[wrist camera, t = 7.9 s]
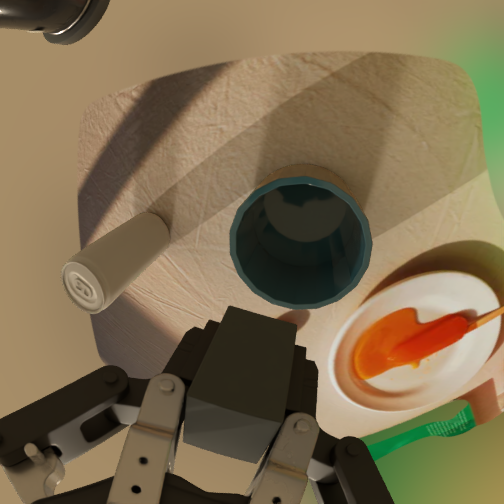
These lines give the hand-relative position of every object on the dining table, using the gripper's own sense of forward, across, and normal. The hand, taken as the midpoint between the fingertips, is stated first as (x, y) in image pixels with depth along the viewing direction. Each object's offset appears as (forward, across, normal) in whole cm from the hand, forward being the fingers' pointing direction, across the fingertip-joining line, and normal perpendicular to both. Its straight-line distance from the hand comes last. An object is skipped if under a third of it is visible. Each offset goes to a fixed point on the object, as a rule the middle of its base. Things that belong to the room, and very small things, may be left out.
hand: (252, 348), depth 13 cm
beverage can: (+16, +13, +4) cm, 22 cm away
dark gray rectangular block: (0, 0, 0) cm, 0 cm away
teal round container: (+16, -1, -1) cm, 16 cm away
